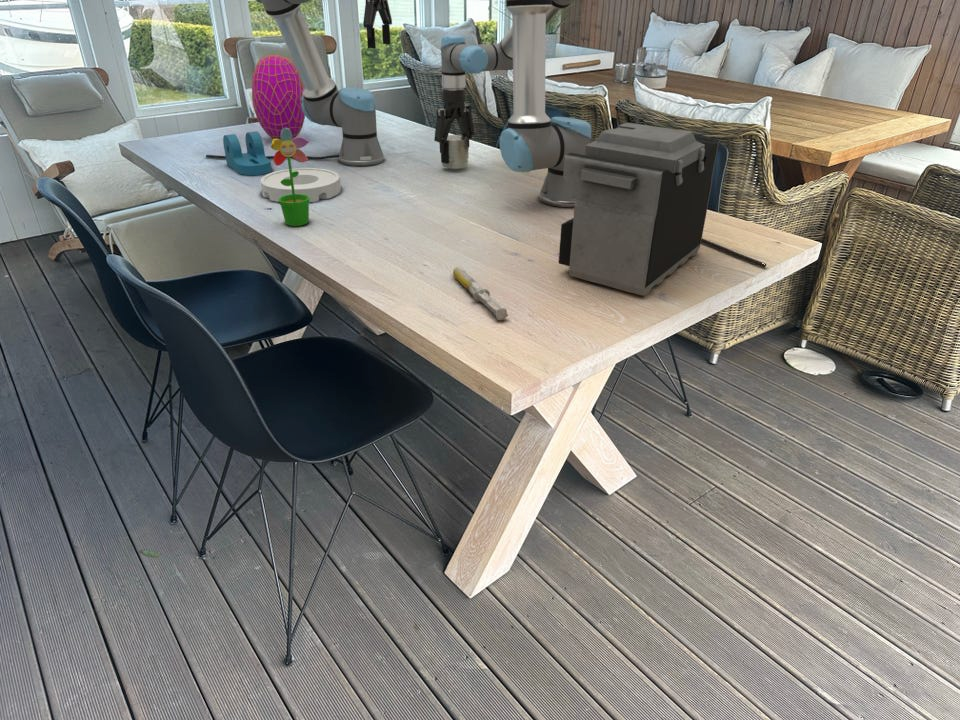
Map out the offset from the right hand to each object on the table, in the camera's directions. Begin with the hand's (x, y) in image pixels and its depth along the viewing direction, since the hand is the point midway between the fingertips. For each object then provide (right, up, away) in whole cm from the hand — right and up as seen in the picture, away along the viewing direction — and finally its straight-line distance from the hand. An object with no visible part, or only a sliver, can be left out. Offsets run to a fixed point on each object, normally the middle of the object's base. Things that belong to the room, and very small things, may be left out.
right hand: (454, 160), depth 230 cm
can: (0, -1, +1) cm, 2 cm away
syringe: (+8, -54, -85) cm, 101 cm away
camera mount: (-68, -3, 0) cm, 68 cm away
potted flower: (-40, -30, -46) cm, 68 cm away
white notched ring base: (-45, -16, -22) cm, 53 cm away
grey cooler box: (+44, -44, -68) cm, 92 cm away
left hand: (-28, +48, +21) cm, 60 cm away
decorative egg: (-67, +18, +35) cm, 78 cm away
